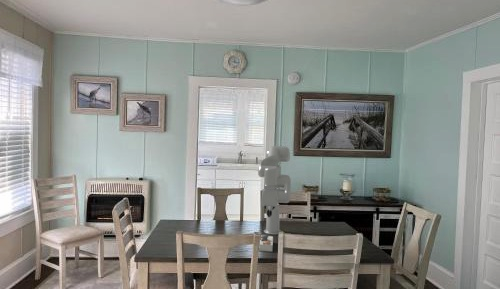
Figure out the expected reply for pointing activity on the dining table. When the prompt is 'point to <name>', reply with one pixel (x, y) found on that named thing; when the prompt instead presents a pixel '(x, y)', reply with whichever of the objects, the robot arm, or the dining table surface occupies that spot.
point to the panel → (266, 247)
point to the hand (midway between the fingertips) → (269, 216)
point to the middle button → (264, 237)
